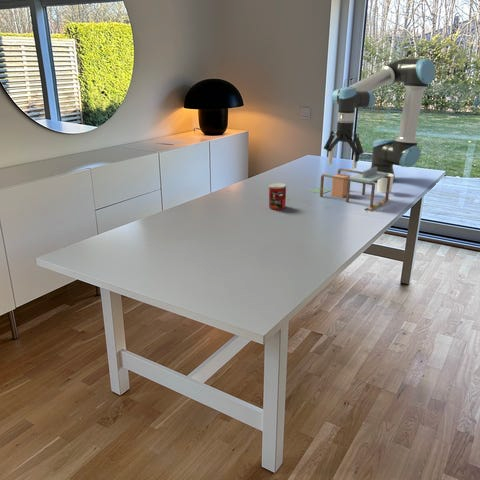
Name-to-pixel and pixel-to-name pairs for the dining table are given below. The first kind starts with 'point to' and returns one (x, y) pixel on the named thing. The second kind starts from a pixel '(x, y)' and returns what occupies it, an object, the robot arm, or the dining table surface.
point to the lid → (369, 175)
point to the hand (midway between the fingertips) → (341, 166)
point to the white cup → (385, 184)
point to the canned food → (277, 196)
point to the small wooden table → (362, 188)
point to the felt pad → (317, 190)
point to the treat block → (340, 186)
